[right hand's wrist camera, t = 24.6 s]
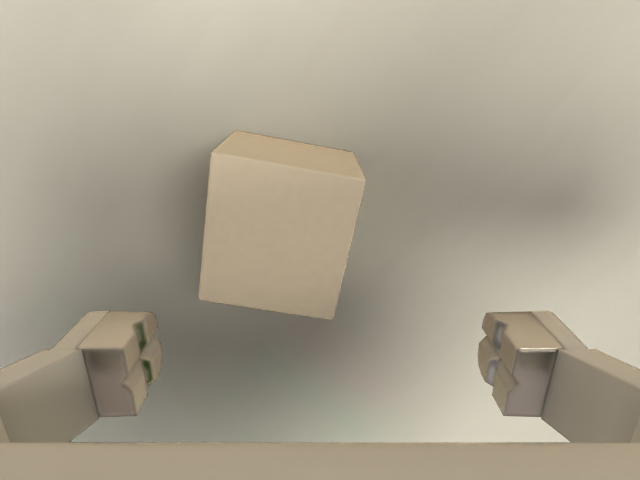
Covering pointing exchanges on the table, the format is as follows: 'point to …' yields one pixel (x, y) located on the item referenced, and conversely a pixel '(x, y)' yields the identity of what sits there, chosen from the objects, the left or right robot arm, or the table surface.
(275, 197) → the block
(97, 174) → the table surface
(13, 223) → the table surface
